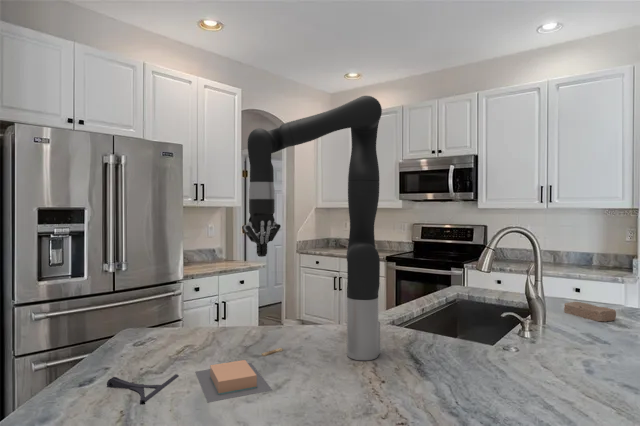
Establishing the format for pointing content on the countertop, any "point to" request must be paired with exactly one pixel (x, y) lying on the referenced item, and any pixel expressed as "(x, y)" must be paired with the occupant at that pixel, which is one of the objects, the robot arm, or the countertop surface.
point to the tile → (233, 377)
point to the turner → (272, 352)
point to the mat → (213, 395)
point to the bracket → (139, 387)
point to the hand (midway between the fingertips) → (262, 256)
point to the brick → (590, 311)
